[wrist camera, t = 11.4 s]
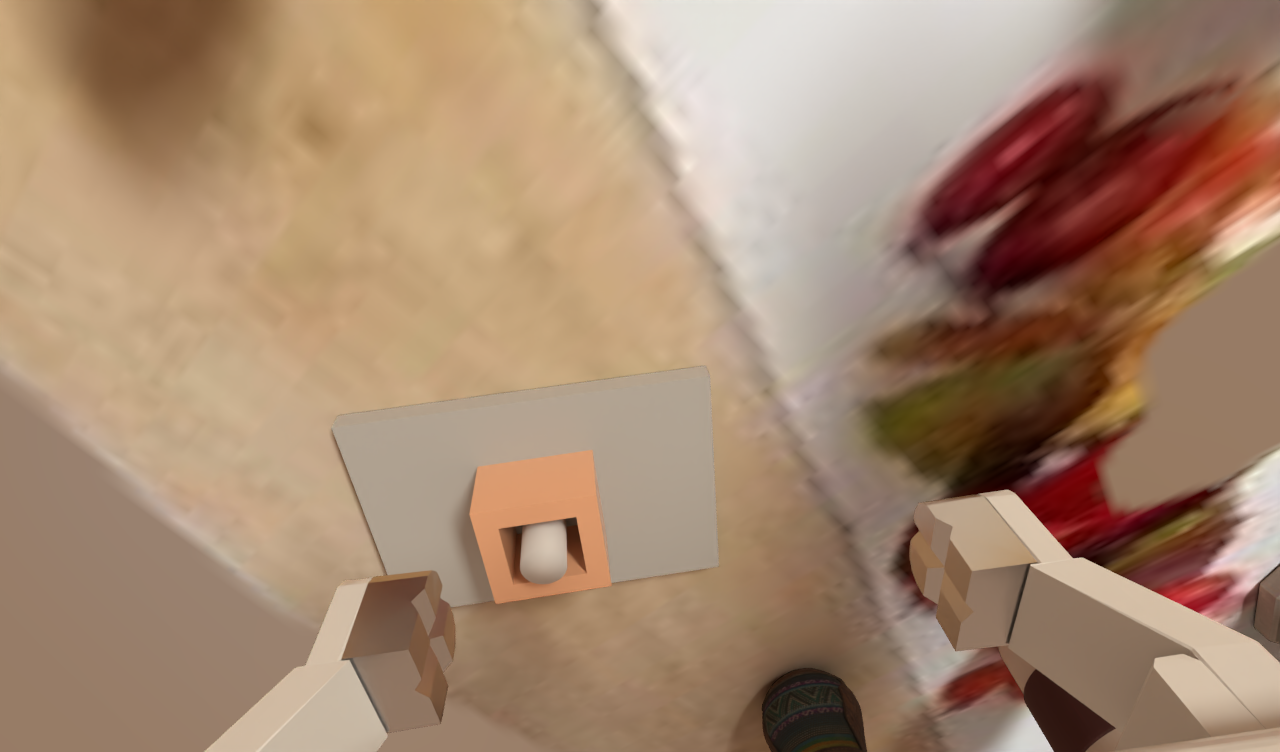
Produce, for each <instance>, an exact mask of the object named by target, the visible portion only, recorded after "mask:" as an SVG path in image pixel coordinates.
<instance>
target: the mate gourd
mask: <svg viewBox="0 0 1280 752" xmlns="http://www.w3.org/2000/svg"><path fill="white" fill-rule="evenodd" d="M762 711H763V714H762V715H763V716H762V718H763V722H762V724H763V732H764V736H765V739H766V742H767V744H768V745H769V748H770V750H771V752H867V749H866V743H865V736H864V728H863V720H862V712H861V709H860V705H859V703H858V701H857V699H856V697H855V696H854V694H853V693H852V691H851V690H850V689H849V688H848V687H847V686H846V685H845V683H844V682H843V681H842V679H840V678H838V677H836V676H835V675H832V674H829V673H827V672H824V671H820V670H817V669H812V668H804V669H798V670H795V671H792V672H789V673H787V674H785V675H784V676H782V677H781V678H780V679H778V680H777V681H776V682H775V683H774V684H773V685H772V687H771V688H770V690H769V691H768V693H767V696H766V698H765V700H764V703H763V704H762Z"/></svg>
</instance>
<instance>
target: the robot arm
mask: <svg viewBox="0 0 1280 752" xmlns="http://www.w3.org/2000/svg"><path fill="white" fill-rule="evenodd" d="M913 521H914V522H915V524H916V526H917V527H918V529H919V530H920V531H919V532H918V533H917V534H916V535H915V536H914V537H913V538H912V539H911V541H910V553H909V556H910V562H911V568H912V572H913V575H914V578H915V580H916V583H917V585H918V587H919V588H920V590H921V592H922V594H923V596H925V597H927V598H928V599H930V600H932V601H933V602H935V603H936V604H938V607H937V613H936V618H937V620H938V622H939V624H940V625H941V627H942V629H943V630H944V632H945V634H946V636H947V637H948V639H949V641H950V642H951V644H952V646H953V648H954V649H955V651H962V650H971V649H979V648H988V647H997V646H1006V645H1009V646H1008V648H1009V649H1010V650H1012V651H1013V652H1014V653H1016V654H1017V655H1018V656H1020V657H1021V658H1022V659H1024V660H1025V661H1026V662H1028V663H1029V664H1030V665H1032V666H1033V667H1034V668H1036V669H1037V670H1038V671H1040V672H1041V673H1042V674H1044V675H1045V676H1047V677H1048V678H1049V679H1051V680H1052V681H1053V682H1055V683H1056V684H1057V685H1059V686H1060V687H1061V688H1063V689H1064V690H1065V691H1067V692H1068V693H1069V694H1071V695H1072V696H1073V697H1075V698H1076V699H1077V700H1079V701H1080V702H1081V703H1083V704H1084V705H1086V706H1087V707H1088V708H1090V709H1091V710H1092V711H1094V712H1095V713H1096V714H1098V715H1099V716H1100V717H1102V718H1103V719H1104V720H1106V721H1107V722H1108V723H1110V724H1111V725H1112V726H1114V727H1115V728H1116V729H1118V730H1119V731H1121V732H1122V734H1121V737H1120V739H1119V741H1118V743H1117V746H1116V748H1115V750H1114V751H1112V752H1280V662H1279V661H1278V660H1276V659H1275V658H1274V657H1273V656H1272V655H1271V654H1270V653H1269V652H1268V651H1267V650H1266V649H1265V648H1264V647H1263V646H1262V645H1261V644H1260V643H1259V642H1258V641H1256V640H1254V639H1251V638H1249V637H1247V636H1245V635H1243V634H1241V633H1239V632H1237V631H1235V630H1233V629H1231V628H1228V627H1226V626H1224V625H1222V624H1220V623H1218V622H1216V621H1214V620H1212V619H1210V618H1208V617H1205V616H1203V615H1201V614H1199V613H1197V612H1195V611H1193V610H1191V609H1189V608H1187V607H1184V606H1182V605H1180V604H1178V603H1176V602H1174V601H1172V600H1170V599H1168V598H1166V597H1164V596H1161V595H1159V594H1157V593H1155V592H1153V591H1151V590H1149V589H1147V588H1145V587H1143V586H1141V585H1138V584H1136V583H1134V582H1132V581H1130V580H1128V579H1126V578H1124V577H1122V576H1120V575H1118V574H1115V573H1113V572H1111V571H1109V570H1107V569H1105V568H1103V567H1101V566H1099V565H1097V564H1095V563H1092V562H1090V561H1088V560H1086V559H1084V558H1074V559H1073V558H1072V557H1071V556H1070V555H1069V554H1068V552H1067V551H1066V550H1065V549H1064V548H1063V547H1062V546H1061V545H1060V543H1059V542H1058V541H1057V540H1056V539H1055V538H1054V537H1053V535H1052V534H1051V533H1050V532H1049V531H1048V530H1047V529H1046V528H1045V526H1044V525H1043V524H1042V523H1041V522H1040V521H1039V520H1038V519H1037V517H1036V516H1035V515H1034V514H1033V513H1032V512H1031V511H1030V510H1029V508H1028V507H1027V506H1026V505H1025V504H1024V503H1023V502H1022V501H1021V499H1020V498H1019V497H1018V496H1017V495H1016V494H1015V493H1014V492H1012V491H1010V490H1001V491H994V492H988V493H981V494H977V495H968V496H962V497H955V498H948V499H941V500H934V501H928V502H921V503H919V504H918V505H917V507H916V508H915V513H914V519H913ZM442 587H443V585H442V583H441V580H440V578H439V575H438V573H437V572H436V571H433V570H429V571H420V572H412V573H403V574H394V575H385V576H376V577H373V578H364V579H355V580H346V581H343V582H342V583H341V584H340V585H339V586H338V587H337V589H336V591H335V593H334V596H333V598H332V601H331V603H330V605H329V608H328V610H327V613H326V615H325V618H324V620H323V623H322V625H321V627H320V630H319V632H318V635H317V637H316V640H315V642H314V645H313V647H312V650H311V652H310V655H309V657H308V659H307V662H306V664H305V666H301V667H296V668H294V669H293V670H292V671H291V672H290V673H289V674H288V675H287V676H286V677H285V678H283V679H282V680H281V681H280V682H279V683H278V684H277V685H276V686H275V687H274V688H273V689H272V690H271V691H269V692H268V693H267V694H266V695H265V696H264V697H263V698H262V699H261V700H260V701H259V702H258V703H257V704H255V705H254V706H253V707H252V708H251V709H250V710H249V711H248V712H247V713H246V714H245V715H244V716H242V717H241V718H240V719H239V720H238V721H237V722H236V723H235V724H234V725H233V726H231V728H229V729H228V730H227V731H226V732H225V733H224V734H223V735H222V736H221V737H220V738H218V740H216V741H215V742H214V743H213V744H212V745H211V746H210V747H209V748H208V749H207V750H206V751H204V752H377V751H378V749H379V748H380V747H381V745H382V744H383V742H384V741H385V740H386V738H387V737H388V735H387V733H391V732H397V731H403V730H409V729H414V728H420V727H426V726H432V725H438V724H441V720H442V716H443V710H444V705H445V700H446V695H447V690H448V684H447V681H446V679H445V676H444V674H443V672H444V671H445V670H446V669H447V667H448V666H449V665H450V664H451V663H452V662H453V657H454V651H455V622H454V616H453V613H452V610H451V607H450V604H449V603H447V602H446V601H444V600H442V599H441V598H440V596H441V591H442Z"/></svg>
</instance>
